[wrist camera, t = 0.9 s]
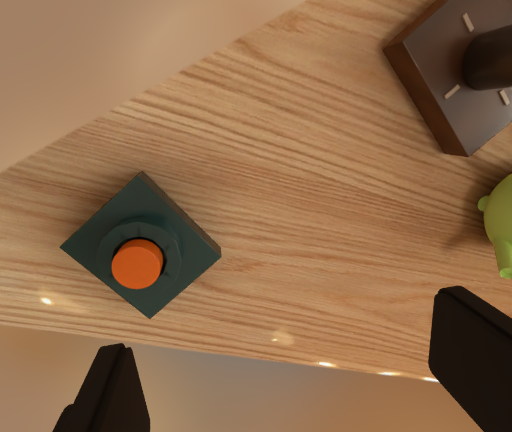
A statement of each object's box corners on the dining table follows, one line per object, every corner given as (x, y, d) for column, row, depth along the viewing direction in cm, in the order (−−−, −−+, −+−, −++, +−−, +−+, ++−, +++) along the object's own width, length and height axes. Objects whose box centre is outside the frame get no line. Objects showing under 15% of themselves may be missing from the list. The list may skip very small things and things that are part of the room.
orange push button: (107, 258, 25) (100, 268, 24) (139, 229, 25) (134, 237, 23) (141, 286, 26) (136, 297, 25) (172, 259, 26) (170, 268, 25)
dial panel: (381, 49, 27) (403, 40, 24) (474, -34, 26) (508, -54, 23) (444, 154, 31) (470, 157, 28) (528, 84, 30) (563, 80, 27)
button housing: (69, 237, 28) (48, 256, 24) (142, 170, 27) (132, 178, 23) (153, 306, 31) (146, 331, 27) (220, 247, 30) (222, 265, 27)
